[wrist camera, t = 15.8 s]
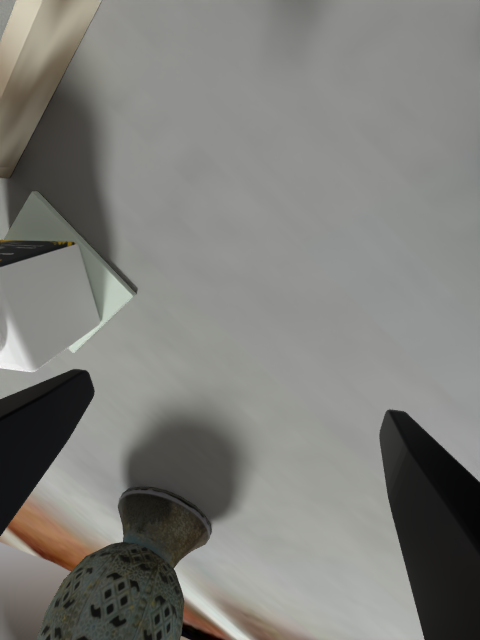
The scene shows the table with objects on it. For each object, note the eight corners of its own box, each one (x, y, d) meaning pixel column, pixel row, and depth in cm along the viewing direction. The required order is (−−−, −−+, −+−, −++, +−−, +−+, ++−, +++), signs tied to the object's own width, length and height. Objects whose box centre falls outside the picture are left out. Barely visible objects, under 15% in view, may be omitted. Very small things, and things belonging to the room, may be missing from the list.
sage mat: (37, 191, 20) (31, 191, 20) (136, 293, 23) (133, 296, 22) (-11, 270, 25) (-16, 272, 24) (77, 350, 27) (73, 353, 27)
